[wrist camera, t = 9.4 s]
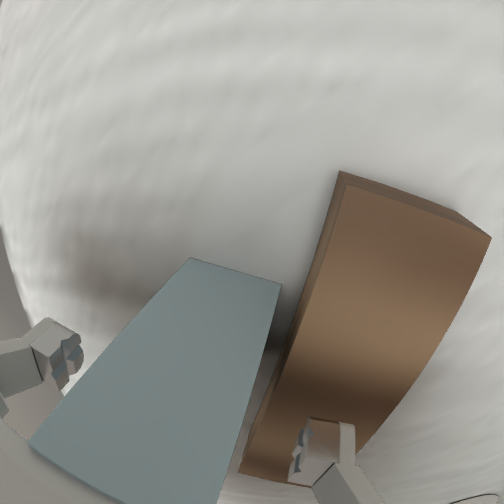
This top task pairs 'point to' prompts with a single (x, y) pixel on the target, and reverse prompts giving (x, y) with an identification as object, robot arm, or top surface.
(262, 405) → the rail
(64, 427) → the block
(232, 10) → the top surface
